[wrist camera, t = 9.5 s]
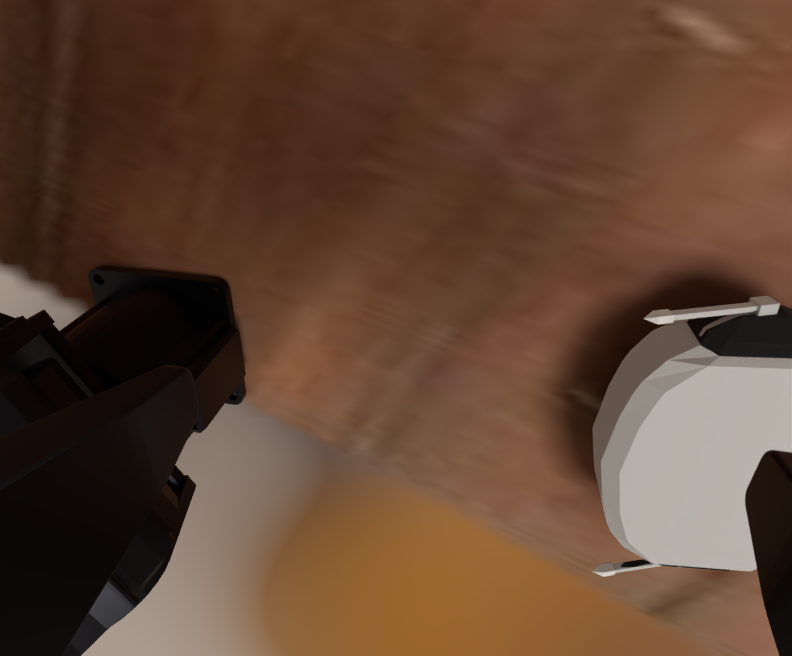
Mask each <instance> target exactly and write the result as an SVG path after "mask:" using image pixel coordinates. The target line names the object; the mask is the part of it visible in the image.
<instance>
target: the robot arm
mask: <svg viewBox="0 0 792 656" xmlns="http://www.w3.org/2000/svg"><path fill="white" fill-rule="evenodd" d="M99 275H100V276H101V277H102V278H103V279H104V280H102V279H101V277H100V276H99ZM88 277H89V281H90V285H91V288H92V292H93V295H94V298H95V302H96V305H95V306H93V307H92V308H91V309H89V310H88V311H86V312H85V313H84V314H82V315H81V316H80V317H78V318H77V319H75V320H74V321H73V322H71V323H70V324H69V325H67V326H66V327H65V328H63V329H62V330H61V331H59V330H58V329H57V328H56V327H55V326H54V325H53V323H54V322H55V321H54V320H53V319H52V318H51V317H50V316H49V314H48V313H47V312H46V311H45V310H42V311H40V312H39V313H37V314H35V315H33V316H32V317H30V318H28V319H25V318H24V316H21V317H19V318H18V317H17V318H13V317H11V316H8V315H5V314H2V313H0V656H81V655H82V654H83V653H84V652H85V651H86V650H87V649H88V648H89V647H90V646H91V645H92V644H93V643H94V642H95V641H96V640H97V639H98V638H99V637H100V636H101V635H102V634H103V633H104V632H105V631H106V630H107V629H109V628H110V627H111V626H112V625H114V624H115V623H117V622H118V621H119V620H121V619H122V618H123V617H125V616H126V615H127V614H128V613H129V612H130V611H132V610H133V609H134V608H135V607H136V606H137V605H138V604H139V603H140V602H141V601H142V600H143V599H144V598H145V597H146V596H147V595H148V594H149V592H150V591H151V590H152V589H153V587H154V586H155V585H156V583H157V582H158V581H159V579H160V578H161V576H162V574H163V572H164V571H165V569H166V567H167V565H168V562H169V561H170V558H171V555H172V553H173V549H174V547H175V544H176V541H177V539H178V536H179V533H180V530H181V527H182V524H183V522H184V519H185V516H186V513H187V510H188V508H189V505H190V501H191V499H192V496H193V494H194V491H195V487H196V484H195V483H194V482H193V481H192V480H191V479H190V477H189V476H188V475H185V476H184V475H183V473H182V472H181V471H180V470H179V469H178V468H177V466H176V465H175V464H176V462H177V460H178V457H179V455H180V453H181V451H182V449H183V447H184V445H185V443H186V441H187V440H188V438H189V437H190V436H191V434H192V433H193V432H198V433H201V432H202V431H203V430H205V429H206V427H207V426H208V425H209V424H210V422H211V421H212V420H213V418H214V417H215V415H216V414H217V413H218V411H219V410H220V409H221V407H222V406H223V405H224V403H227V404H234V405H237V404H240V403H241V402H242V400H243V399H244V397H245V396H246V390H245V383H244V376H245V374H246V373H245V366H244V360H243V353H242V347H241V340H240V333H239V330H238V328H237V327H236V326H235V319H234V313H233V306H232V300H231V293H230V289H229V286H228V285H227V283H226V282H224V281H223V280H221V279H218V278H210V277H200V276H191V275H182V274H173V273H164V272H155V271H145V270H136V269H127V268H118V267H109V266H97V267H96V268H94V269H93V270H91V271H90V272H89V274H88ZM214 288H216V289H218V290H219V292H220V294H218V293H216V292H215V290H214ZM233 393H235V394H236V395H234V394H233ZM745 507H746V513H747V518H748V523H749V529H750V534H751V539H752V545H753V550H754V556H755V561H756V566H757V572H758V577H759V582H760V588H761V593H762V597H763V602H764V606H765V610H766V613H767V617H768V620H769V624H770V627H771V630H772V634H773V637H774V640H775V643H776V646H777V650H778V653H779V656H792V452H785V451H778V450H769V451H767V452H765V453H764V454H763V456H762V458H761V460H760V462H759V464H758V466H757V468H756V470H755V472H754V474H753V477H752V479H751V481H750V483H749V485H748V487H747V490H746V494H745Z"/></svg>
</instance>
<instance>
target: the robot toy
mask: <svg viewBox="0 0 792 656" xmlns="http://www.w3.org/2000/svg"><path fill="white" fill-rule="evenodd" d="M644 319H645V320H648V321H650V322H653V323H655V324H667V323H669V324H667V325H664V326H662V327H659V328H657V329H655V330H653V331H651V332H650V333H649V334H648V335H647V336H646V337H645V338H644V339H642V340H641V341H640V342H639V343H638V344H637V345H636V346H635V347H633V348H632V349H631V350H630V351H629V353H628V354H627V355H626V357H625V358H624V360H623V361H622V362H621V364H620V366H619V368H618V369H617V371H616V373H615V375H614V377H613V378H612V380H611V382H610V384H609V386H608V388H607V391H606V394H605V396H604V399H603V401H602V404H601V407H600V409H599V412H598V415H597V417H596V420H595V422H594V425H593V428H592V430H593V454H594V469H595V474H596V478H597V483H598V487H599V492H600V496H601V500H602V504H603V509H604V513H605V517H606V522H607V524H608V526H609V529H610V531H611V532H612V534H613V535H614V536H615V537H616V539H617V540H618V541H619V542H620V543H621V545H622V546H623V547H624V548H626V549H628V550H630V551H631V552H633V553H635V554H637V555H638V556H640V557H642V558H644V559H643V560H636V561H629V562H623V563H616V564H612V563H611V562H610V563H604V564H599V565H598V566H597V567H596V568H595V570H594V571H593V572H594V573H596V574H598V575H601V576H603V577H604V576H610V575H615V573H618V572H625V571H631V570H638V569H644V568H651V567H658V566H673V567H678V568H679V567H686V568H699V569H711V570H724V571H729V570H740V571H753V570H755V569H757V566H756V561H755V556H754V550H753V545H752V539H751V534H750V529H749V523H748V518H747V513H746V507H745V494H746V490H747V487H748V485H749V483H750V481H751V479H752V477H753V474H754V472H755V470H756V468H757V466H758V464H759V462H760V460H761V458H762V456H763V454H764V453H765V452H767V451H769V450H778V451H785V452H792V309H790V308H787V307H785V306H782V305H780V303H779V302H777V301H776V300H774V299H772V298H771V297H769V296H760V297H750V298H749V301H748V302H747V303H737V304H728V305H719V306H710V307H700V308H691V309H682V310H673V311H670V310H668V309H663V310H654V311H652V312H651V313H649V314H648V315H647V316H646V317H645V318H644ZM675 320H676V321H675ZM673 321H674V322H673Z"/></svg>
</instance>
